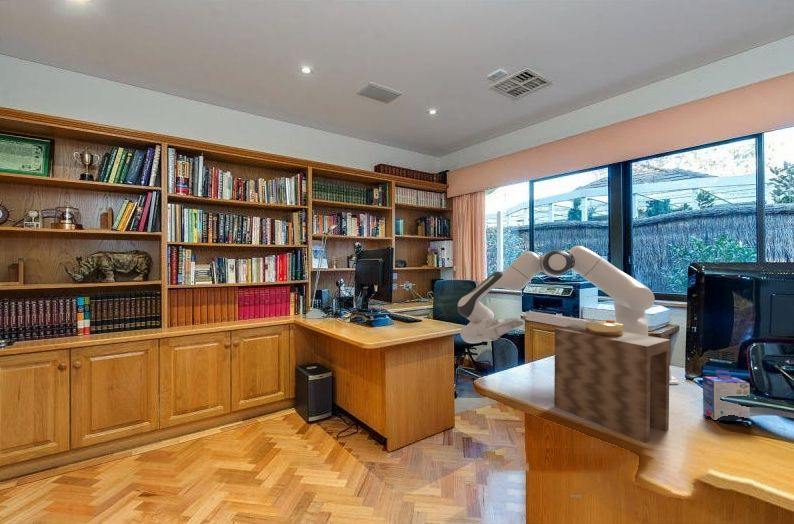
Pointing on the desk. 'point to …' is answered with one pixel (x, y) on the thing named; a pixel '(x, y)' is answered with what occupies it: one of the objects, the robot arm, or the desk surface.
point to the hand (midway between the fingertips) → (515, 325)
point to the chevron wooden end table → (613, 380)
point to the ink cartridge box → (724, 388)
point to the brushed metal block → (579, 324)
